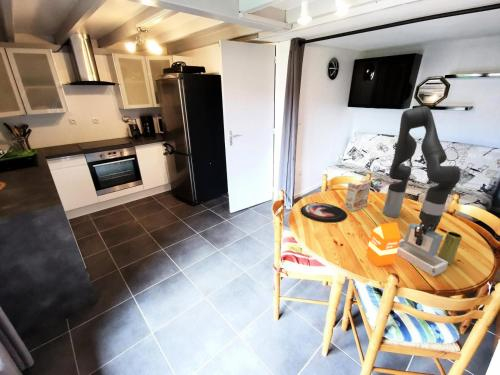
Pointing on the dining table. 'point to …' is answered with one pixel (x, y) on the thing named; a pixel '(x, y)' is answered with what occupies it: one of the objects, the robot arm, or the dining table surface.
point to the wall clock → (324, 212)
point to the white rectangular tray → (421, 259)
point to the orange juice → (384, 244)
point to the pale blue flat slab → (424, 241)
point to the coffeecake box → (357, 194)
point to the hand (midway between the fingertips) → (421, 243)
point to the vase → (450, 247)
